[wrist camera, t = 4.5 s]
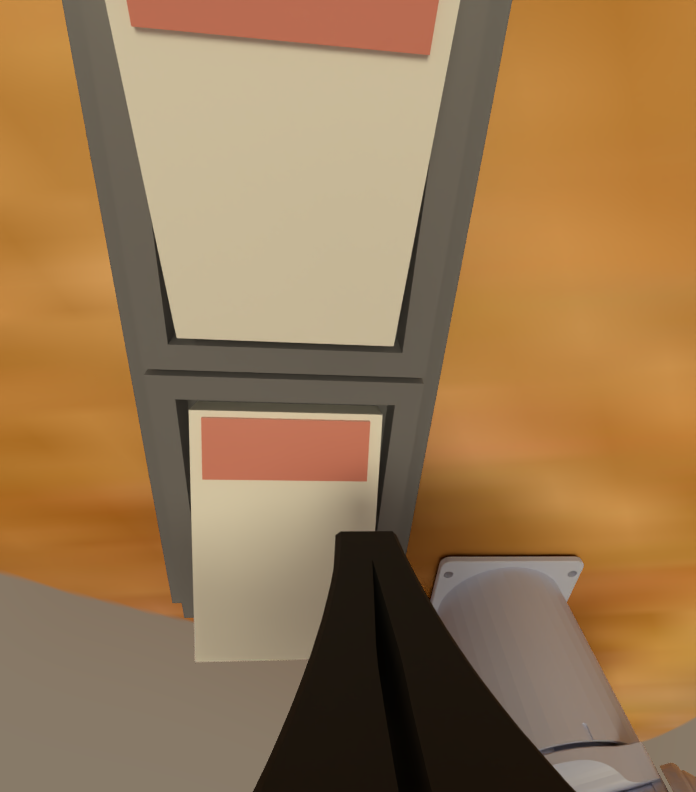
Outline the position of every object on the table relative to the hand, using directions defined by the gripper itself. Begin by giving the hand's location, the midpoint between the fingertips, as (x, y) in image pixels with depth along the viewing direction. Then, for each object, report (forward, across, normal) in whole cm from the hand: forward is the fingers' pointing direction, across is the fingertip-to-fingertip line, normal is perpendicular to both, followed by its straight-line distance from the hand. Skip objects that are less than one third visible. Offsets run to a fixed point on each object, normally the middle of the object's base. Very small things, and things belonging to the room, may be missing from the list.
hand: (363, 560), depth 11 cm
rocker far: (+4, +2, +3) cm, 6 cm away
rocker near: (+4, +2, -8) cm, 9 cm away
